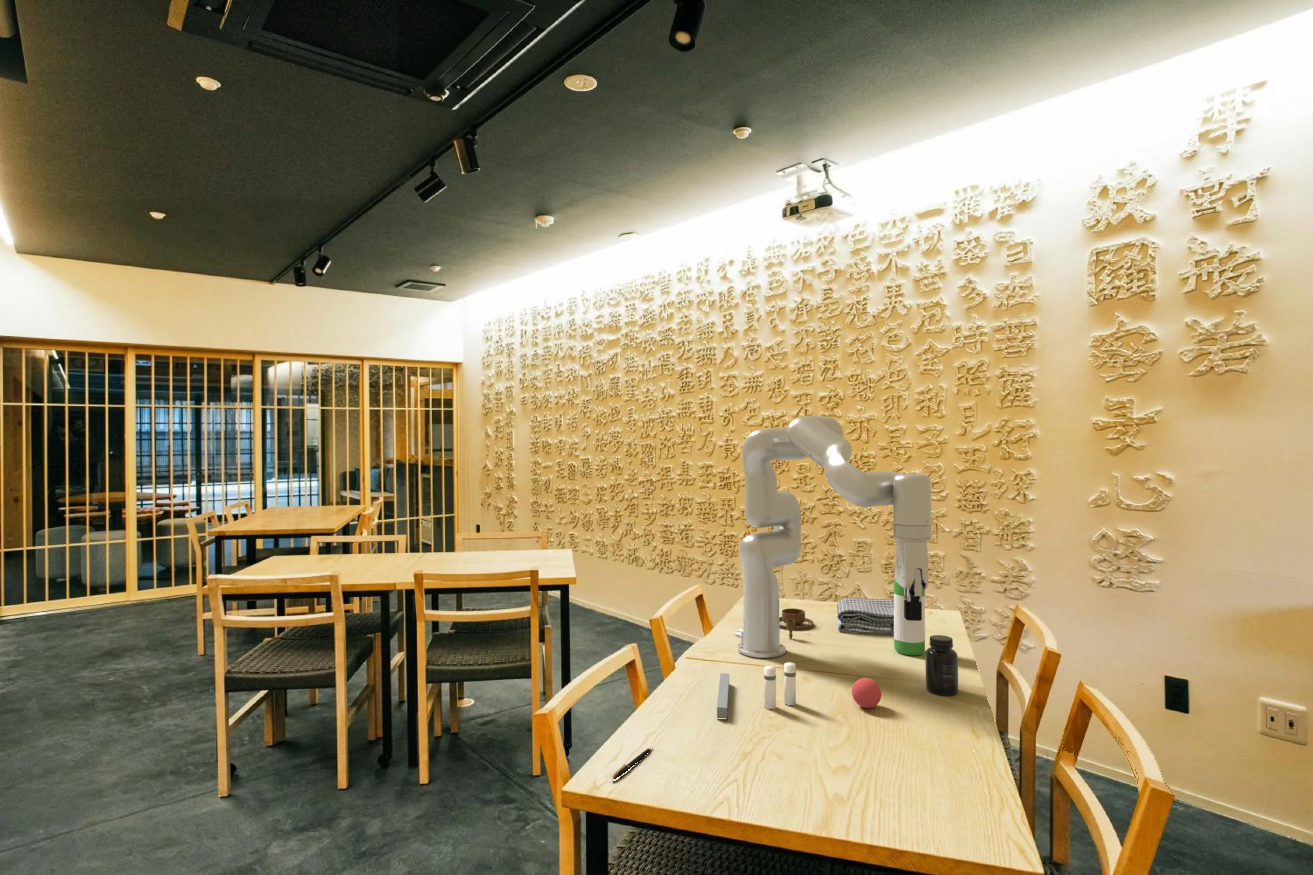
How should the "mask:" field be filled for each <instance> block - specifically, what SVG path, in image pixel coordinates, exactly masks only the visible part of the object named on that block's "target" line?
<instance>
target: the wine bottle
mask: <svg viewBox="0 0 1313 875" xmlns="http://www.w3.org/2000/svg"><path fill="white" fill-rule="evenodd" d="M893 581H894V582H893V600H894V635H893V647H894V650H895V651H896V652H897V653H898V654H902V655H904V656H905V655H906V656H920V655H923V654H924V653H925V652H926V602H925V601H926V599H925V598H926V594H925V593H926V592H925V591H926V589H923V588H922V601H921V602H922V620H921V621H908V620H906V619H905V618H904V600H907V599H904V588H903V587H902V586H900V585H899V584H898V583H897V582H896V580H895V578H894V580H893Z"/></svg>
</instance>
